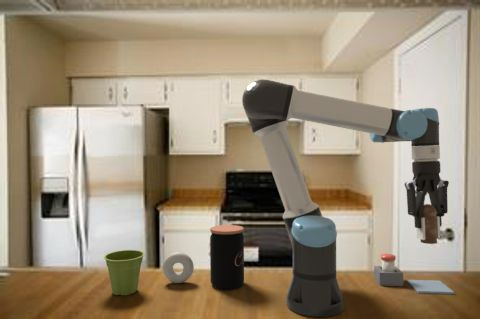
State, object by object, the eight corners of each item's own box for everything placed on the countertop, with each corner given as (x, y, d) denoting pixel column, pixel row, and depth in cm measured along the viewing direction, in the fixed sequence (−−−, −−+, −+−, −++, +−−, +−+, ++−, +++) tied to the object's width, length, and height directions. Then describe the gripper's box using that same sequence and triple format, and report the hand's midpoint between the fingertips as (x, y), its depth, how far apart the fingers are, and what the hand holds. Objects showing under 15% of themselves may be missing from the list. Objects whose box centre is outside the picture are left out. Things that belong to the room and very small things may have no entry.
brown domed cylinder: (423, 244, 108) (421, 205, 108) (417, 240, 113) (416, 203, 113) (440, 243, 107) (439, 205, 107) (434, 240, 112) (432, 202, 112)
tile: (418, 293, 108) (418, 290, 108) (406, 281, 118) (406, 279, 118) (454, 294, 107) (454, 292, 107) (439, 282, 117) (439, 280, 117)
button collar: (379, 285, 114) (379, 272, 114) (374, 278, 121) (374, 265, 121) (403, 286, 114) (403, 273, 114) (396, 278, 121) (396, 266, 121)
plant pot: (95, 295, 109) (94, 257, 109) (125, 282, 119) (124, 248, 119) (124, 302, 103) (124, 262, 103) (153, 288, 114) (152, 252, 114)
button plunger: (382, 280, 116) (382, 257, 116) (379, 276, 120) (379, 253, 120) (397, 281, 115) (397, 257, 115) (393, 276, 119) (393, 254, 119)
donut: (161, 285, 116) (161, 253, 116) (163, 281, 120) (163, 251, 120) (193, 284, 117) (193, 253, 117) (194, 280, 120) (194, 250, 120)
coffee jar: (240, 291, 110) (240, 232, 110) (206, 289, 112) (205, 230, 112) (247, 280, 121) (246, 225, 121) (215, 278, 123) (215, 224, 123)
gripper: (408, 161, 105) (411, 243, 105) (460, 159, 108) (463, 238, 108) (392, 161, 112) (395, 238, 112) (441, 159, 115) (444, 233, 116)
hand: (428, 238), depth 110 cm, fingers closed on brown domed cylinder, 4 cm apart
